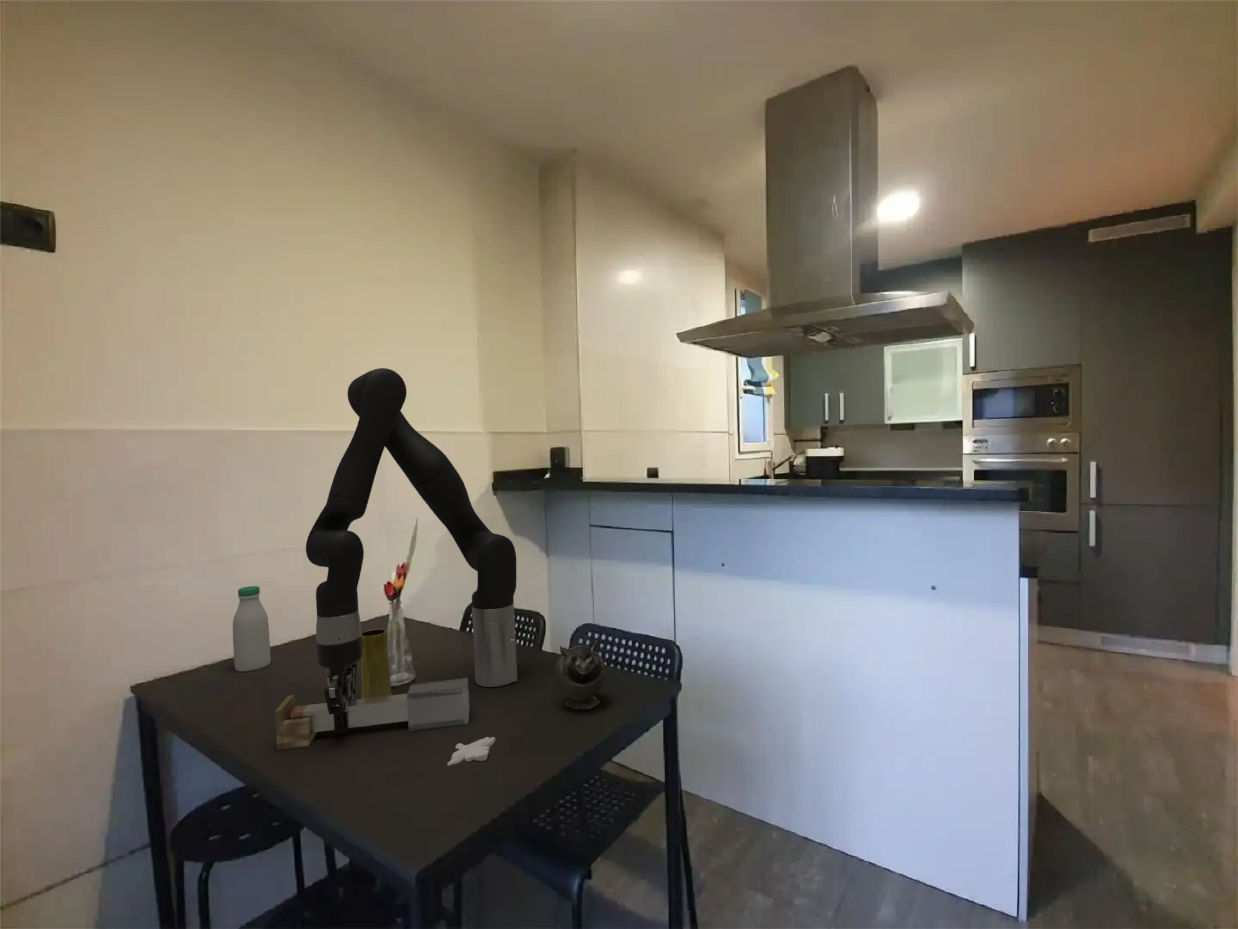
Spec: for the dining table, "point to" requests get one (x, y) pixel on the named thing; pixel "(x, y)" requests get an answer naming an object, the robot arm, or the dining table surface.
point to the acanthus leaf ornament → (472, 751)
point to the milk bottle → (250, 632)
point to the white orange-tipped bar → (357, 712)
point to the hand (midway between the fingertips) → (344, 727)
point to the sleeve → (438, 704)
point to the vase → (375, 664)
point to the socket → (291, 727)
